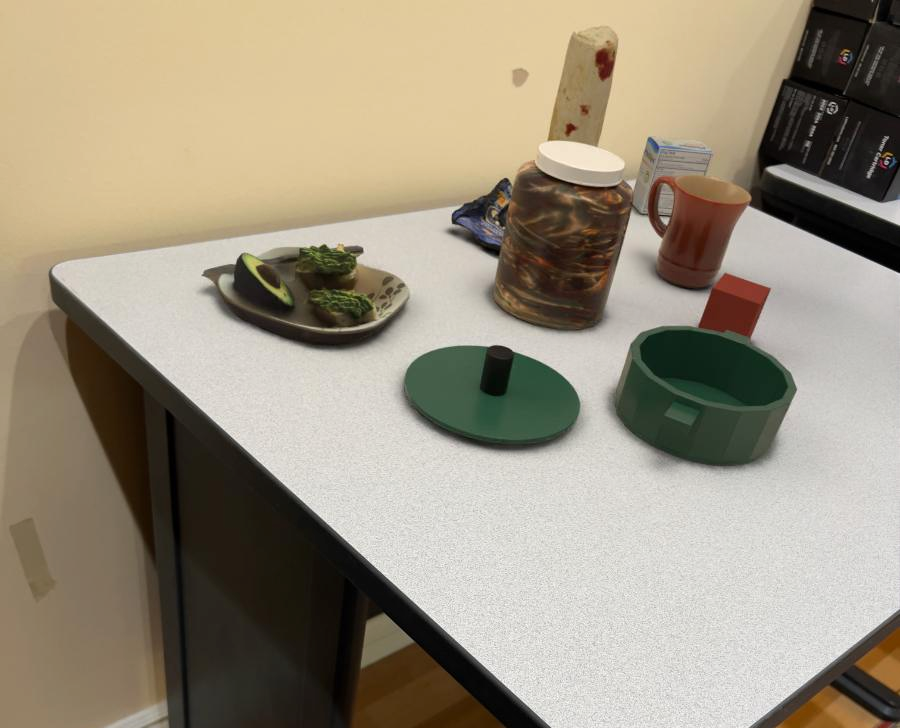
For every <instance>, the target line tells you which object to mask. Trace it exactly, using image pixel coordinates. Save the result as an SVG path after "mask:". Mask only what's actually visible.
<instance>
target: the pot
mask: <svg viewBox="0 0 900 728" xmlns="http://www.w3.org/2000/svg"><path fill="white" fill-rule="evenodd" d="M749 339H750V338H749V337H746V336H743V335H740V334H737V333H735V332H732V331H729V330H725V332H724V333H722V332H718V331H713V330H708V329H702V328H698V327H697V326H691V325H662V326H661V325H660V326H658V327H654V328H650V329H646V330H644V331H641V332H639V334H638V335H637V336H636V337H635V338H634V339H633V340H632V341H631V343H630V345H629V348H628V351H627V354H626V358H625V360H624V364H623V367H622V370H621V373H620V377H619V380H618V382H617V387H616V390H615V398H614V408H615V411H616V414H617V416H618V417H619V419H620V421H621V422H622V424H623V425H624V426H625V427H626V428H627V429H628V430H629V431H630V432H631V433H633V434H634V435H635V436H636V437H638V438H639V439H640V440H642V441H643V442H645V443H646V444H648V445H650V446H652V447H653V448H655V449H656V450H658V451H661V452H664V453H666V454H669V455H671V456H672V457H676V458H679V459H683V460H686V461H690V462H693V463H698V464H704V465H711V466H721V467H723V466H725V467H726V466H727V467H729V466H741V465H745V464H750V463H753V462H755V461H757V460H759V459H761V458H763V457H764V456H766V454H767V453H768V452H769V450H770V449H771V446H772V445H773V443H774V441H775V439H776V436H777V435H778V432H779V430H780V428H781V425H782V423H783V421H784V419H785V417H786V415H787V413H788V410H789V408H790V406H791V404H792V402H793V399H795V396H796V394H797V391H798V388H797V385H796V382H795V380H794V377H793V375H792V372H791V371H790V370H789V369H787V367H785V365H783V364H782V363H781V362H780V361H779V360H778V359H777V358H776V357H775V356H774V355H772V354H770V353H769V352H767V351H765V350H763V349H761V348H760V347H759V346H757V345H754V344H752V343H751V342H750V341H749ZM750 340H751V339H750Z"/></svg>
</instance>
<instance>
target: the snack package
mask: <svg viewBox="0 0 900 728" xmlns="http://www.w3.org/2000/svg"><path fill="white" fill-rule="evenodd" d="M493 187H494V188H491V189H492V190H491V191H490V192H489V193H488V194H486V195H480V197H478V198H476V199H474V200H473V201H469V202H465V203H463V204H462V205H461V206H460V207H459V208H458V209H455V210H454V211H453V212H452V213H451V225H454V226H456V227H457V228H458V226H459V227H461V228H465V229H467V230H468V231H470V232H472V233H473V234H474V237H475V239H476V241H474V243H477V245H479V246H483V248H487V249H490V250H495V251H498V252H500V250H501V244H502V239H503V234H504V228H505V223H506V218H507V213H508V208H509V203H510V198H511V194H512V189H513V184H512V183H511V180H510V179H509V178H508V177H504V178H502V179H500V180H499V181H498V183H497V184H496V185H495V186H493ZM452 231H453V232H455V230H454V229H453V230H452Z"/></svg>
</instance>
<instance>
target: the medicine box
mask: <svg viewBox="0 0 900 728" xmlns="http://www.w3.org/2000/svg"><path fill="white" fill-rule="evenodd" d="M643 150H644V151H643V154H642V158H641V161H640V165H639V169H638V172H637V176H636V179H635V182H634V186H633V193H634V199H633V205H632V206H634V208H635V209H636V210H637V211H638V212H639V213H640V214H643V215H648V198H649V193H650V190H651V187H652V185H653V183H654V181H655V180H656V179H658V178H659V177H662V176H672V177H675V178H676V177H678V176H681V175H690V174H691V175H702V176H708V175H707V174H708V171H709V168H710V165H711V162H712V160H713V157H714V152H713V151H712V150H711V148H709V146H707V145H706V144H705V143H704V142H702V141H701V140H695V139H687V138H676V137H663V136H651V135H650V136H647V140H646V143H645V147H644V149H643ZM673 198H674V193H673V192H672V190H671V188H670V186H668V185H667V184H665V183H664V185H663V187H662V189H661V193H660V197H659V204H658V212H659V216H671V212H672V207H673Z"/></svg>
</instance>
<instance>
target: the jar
mask: <svg viewBox="0 0 900 728" xmlns="http://www.w3.org/2000/svg"><path fill="white" fill-rule="evenodd" d="M625 168H626V162H625V161H624V160H623V159H622V158H621V157H620V156H618V155H617V154H615V153H613V152H611V151H609V150H606V149H604V148H601V147H598V146H597V147H595V146H591V145H587V144H583V143H577V142H571V141H548V142H547V141H544V142H542V143H540V144H539V145H538V148H537V153H536V158H535V159H533V160H530V161H526V162H523V163H522V164H521V165H520V166H519V167H518V169H517V171H516V174H515V177H514V181H513V184H512V186H513V189H512V194H511V198H510V203H509V208H508V213H507V218H506V223H505V228H504V234H503V239H502V244H501V250H500V251H499V255H498V260H497V267H496V271H495V277H494V283H493V289H492V296H493V299H494V301H495V303H496V304H497V305H498V306H499V307H500V308H501V309H502V310H504V311H505V312H507V313H508V314H510V315H512V316H513V317H516V318H517V319H520V320H522V321H525V322H528V323H530V324H534V325H537V326H541V327H546V328H551V329H559V330H582V329H586V328H591V327H593V326H595V325H597V324H598V323H599V322H601V320H602V318H603V316H604V313H605V309H606V305H607V303H608V299H609V296H610V292H611V288H612V284H613V281H614V278H615V275H616V271H617V268H618V267H617V266H618V263H619V260H620V255H621V253H622V250H623V245H624V241H625V238H626V233H627V229H628V226H629V222H630V218H631V214H632V210H633V206H634V205H633V199H634V193H633V190H634V188H632V186H631V185H630V184H629V183H628V182H627V181H625V180H624V179H623V176H624V172H625Z"/></svg>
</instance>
